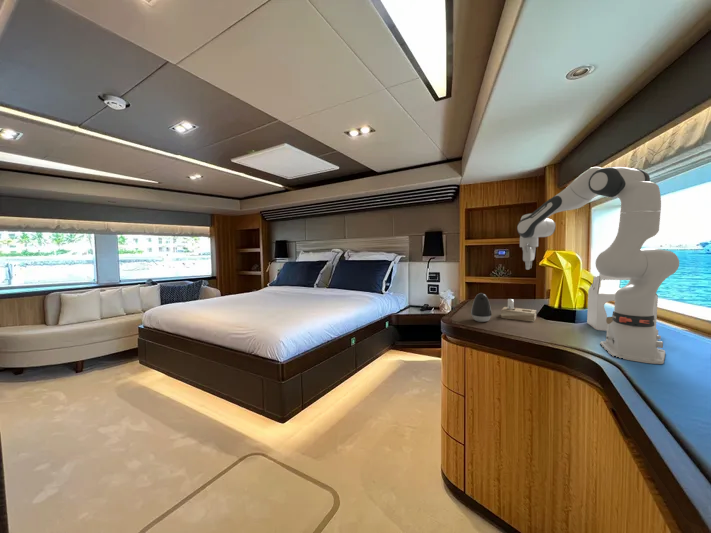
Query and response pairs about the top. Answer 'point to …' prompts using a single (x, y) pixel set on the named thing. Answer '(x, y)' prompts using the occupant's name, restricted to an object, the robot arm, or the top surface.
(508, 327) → the top surface
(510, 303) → the peg
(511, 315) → the hole block
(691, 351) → the top surface
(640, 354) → the robot arm
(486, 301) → the dark grey egg speaker
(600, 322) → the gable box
